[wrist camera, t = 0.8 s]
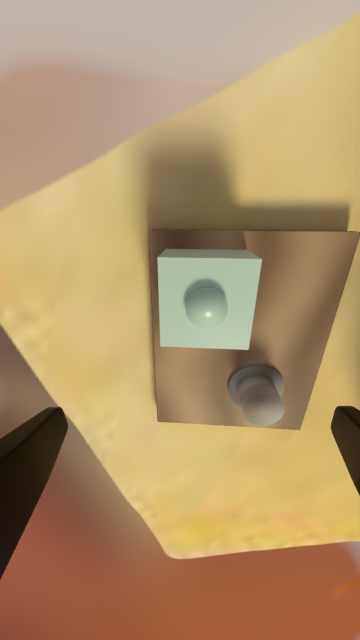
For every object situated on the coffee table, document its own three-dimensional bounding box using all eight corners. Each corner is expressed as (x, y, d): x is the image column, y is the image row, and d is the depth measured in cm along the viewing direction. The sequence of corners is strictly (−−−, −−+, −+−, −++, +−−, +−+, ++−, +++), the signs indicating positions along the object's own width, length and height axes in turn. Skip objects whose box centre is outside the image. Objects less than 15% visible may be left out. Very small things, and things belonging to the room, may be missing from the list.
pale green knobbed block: (246, 249, 16) (264, 260, 12) (237, 323, 18) (250, 353, 14) (166, 248, 16) (156, 258, 12) (167, 320, 18) (159, 349, 14)
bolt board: (349, 231, 16) (395, 234, 12) (295, 419, 23) (313, 457, 19) (151, 229, 17) (139, 232, 13) (159, 412, 24) (152, 447, 20)
